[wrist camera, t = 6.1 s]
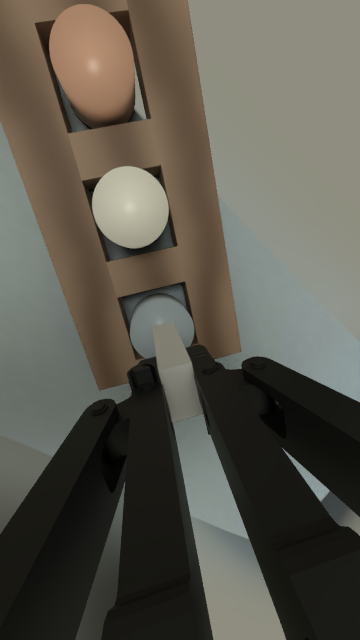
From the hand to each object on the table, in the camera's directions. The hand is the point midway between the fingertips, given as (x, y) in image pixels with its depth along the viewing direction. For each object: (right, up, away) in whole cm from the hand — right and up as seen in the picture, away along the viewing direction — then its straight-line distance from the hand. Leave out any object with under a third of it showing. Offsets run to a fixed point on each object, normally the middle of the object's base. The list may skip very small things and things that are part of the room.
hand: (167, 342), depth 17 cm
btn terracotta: (-5, +19, +1) cm, 19 cm away
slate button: (-1, +2, +5) cm, 6 cm away
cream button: (-3, +10, +3) cm, 11 cm away
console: (-3, +10, +4) cm, 12 cm away
